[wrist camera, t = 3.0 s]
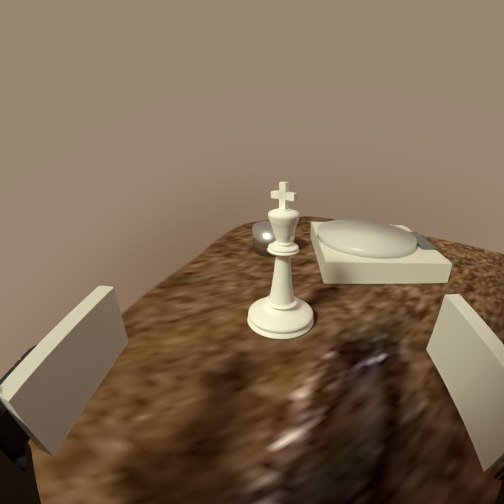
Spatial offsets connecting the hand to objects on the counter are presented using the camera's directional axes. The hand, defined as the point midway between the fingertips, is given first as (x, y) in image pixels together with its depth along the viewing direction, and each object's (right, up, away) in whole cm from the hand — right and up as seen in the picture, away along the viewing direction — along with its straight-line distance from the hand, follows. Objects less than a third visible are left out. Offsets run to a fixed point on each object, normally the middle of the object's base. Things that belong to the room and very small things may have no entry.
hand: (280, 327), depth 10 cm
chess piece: (+1, -2, +11) cm, 11 cm away
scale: (+13, +2, +22) cm, 26 cm away
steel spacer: (+2, +3, +25) cm, 25 cm away
